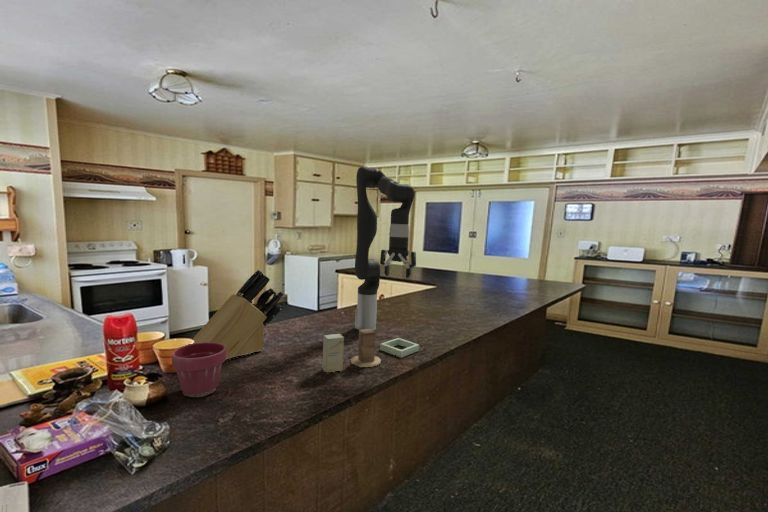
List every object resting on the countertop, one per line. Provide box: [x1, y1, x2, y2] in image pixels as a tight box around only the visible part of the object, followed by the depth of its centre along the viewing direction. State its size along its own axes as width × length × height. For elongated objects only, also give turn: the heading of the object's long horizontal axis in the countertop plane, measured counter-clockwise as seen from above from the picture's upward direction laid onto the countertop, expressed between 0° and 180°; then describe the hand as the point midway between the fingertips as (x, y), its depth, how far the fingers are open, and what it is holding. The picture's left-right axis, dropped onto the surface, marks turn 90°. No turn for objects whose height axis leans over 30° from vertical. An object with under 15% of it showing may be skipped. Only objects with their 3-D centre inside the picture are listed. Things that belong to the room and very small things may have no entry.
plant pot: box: [171, 342, 227, 394], centre depth 109 cm, size 14×14×13 cm
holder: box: [379, 337, 420, 359], centre depth 149 cm, size 11×11×2 cm
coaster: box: [350, 355, 382, 368], centre depth 136 cm, size 11×11×1 cm
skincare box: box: [321, 333, 345, 373], centre depth 127 cm, size 6×4×12 cm
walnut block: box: [357, 329, 376, 363], centre depth 136 cm, size 4×4×11 cm
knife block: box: [191, 269, 285, 358], centre depth 138 cm, size 11×35×31 cm, turn 136°
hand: (397, 276), depth 146 cm, fingers open, 8 cm apart
